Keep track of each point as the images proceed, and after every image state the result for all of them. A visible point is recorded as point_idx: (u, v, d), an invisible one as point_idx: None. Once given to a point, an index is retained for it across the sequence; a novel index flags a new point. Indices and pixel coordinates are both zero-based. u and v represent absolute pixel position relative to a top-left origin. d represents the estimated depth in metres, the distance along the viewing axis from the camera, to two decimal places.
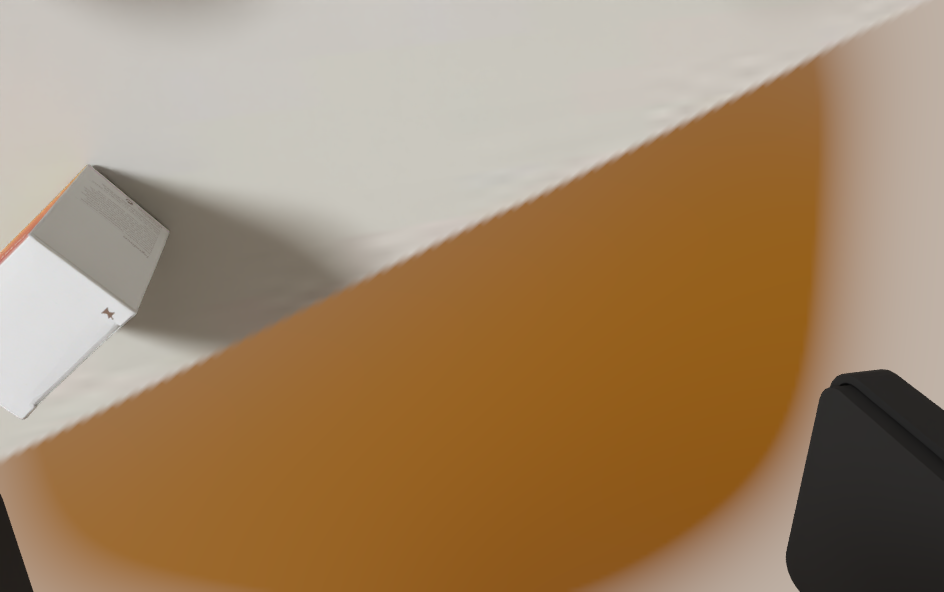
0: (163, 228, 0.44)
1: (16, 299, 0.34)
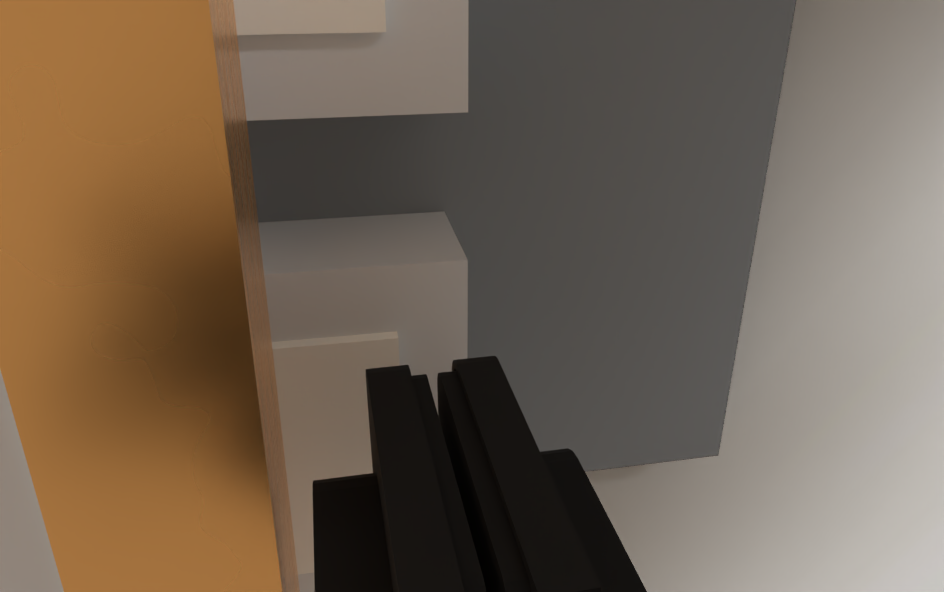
0: None
1: None
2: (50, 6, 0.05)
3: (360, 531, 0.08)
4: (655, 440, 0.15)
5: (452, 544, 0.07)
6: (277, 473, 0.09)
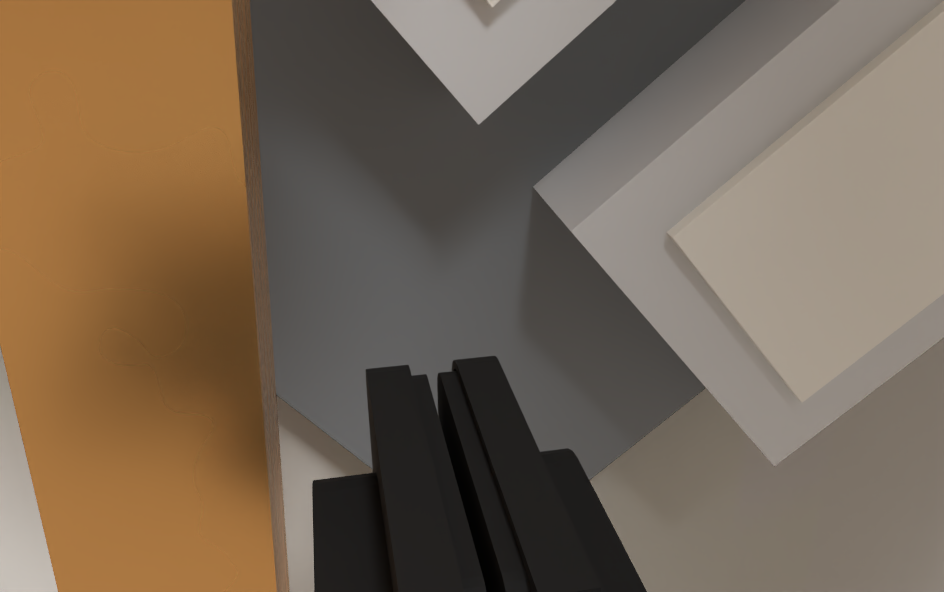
0: None
1: None
2: (74, 13, 0.05)
3: (361, 530, 0.08)
4: None
5: (452, 544, 0.07)
6: (275, 480, 0.09)
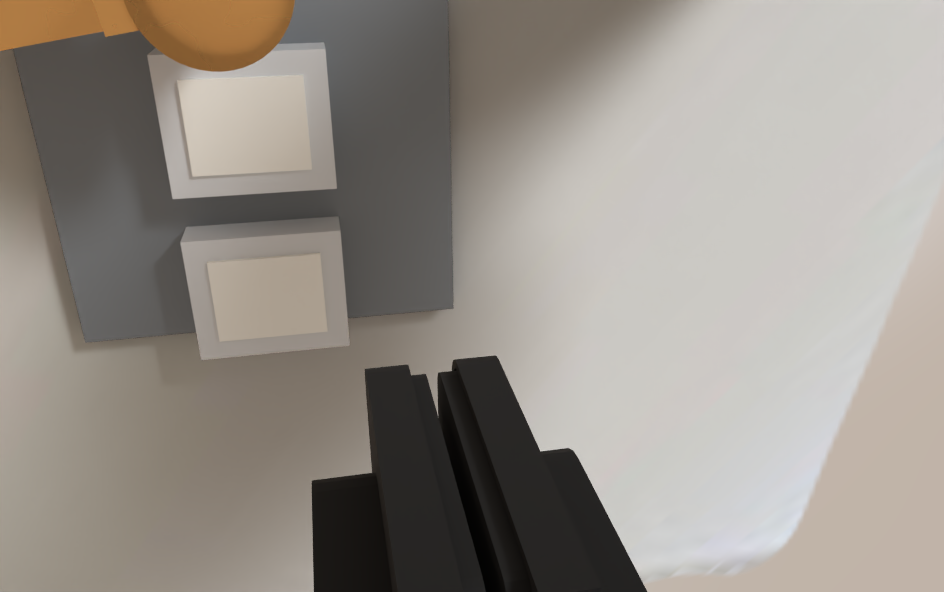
0: None
1: None
2: (1, 16, 0.27)
3: (360, 530, 0.08)
4: (426, 301, 0.41)
5: (452, 544, 0.07)
6: None
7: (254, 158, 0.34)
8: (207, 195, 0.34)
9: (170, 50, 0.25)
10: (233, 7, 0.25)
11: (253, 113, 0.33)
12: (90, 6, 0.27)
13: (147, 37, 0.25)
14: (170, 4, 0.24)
